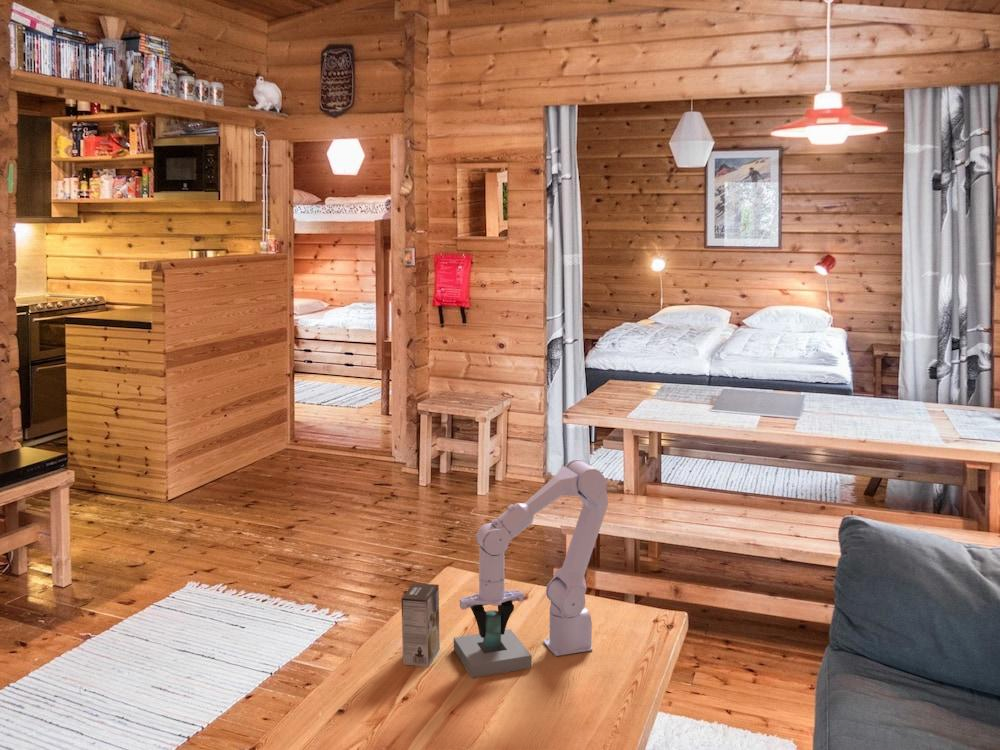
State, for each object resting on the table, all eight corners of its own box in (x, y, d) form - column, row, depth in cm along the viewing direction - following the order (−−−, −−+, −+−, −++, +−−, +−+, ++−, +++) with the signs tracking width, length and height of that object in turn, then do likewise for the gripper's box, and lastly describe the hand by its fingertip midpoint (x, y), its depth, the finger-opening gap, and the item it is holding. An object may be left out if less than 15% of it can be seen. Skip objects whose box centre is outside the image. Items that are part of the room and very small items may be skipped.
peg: (496, 637, 210) (496, 609, 209) (503, 645, 206) (503, 616, 205) (480, 640, 208) (480, 612, 207) (487, 648, 205) (487, 619, 204)
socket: (510, 641, 217) (510, 629, 217) (531, 667, 204) (531, 655, 203) (453, 649, 213) (453, 637, 212) (471, 677, 200) (471, 665, 199)
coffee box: (413, 646, 214) (412, 581, 211) (440, 649, 213) (439, 584, 210) (401, 665, 205) (400, 597, 203) (429, 667, 204) (428, 599, 201)
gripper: (466, 588, 199) (466, 646, 201) (528, 579, 204) (527, 637, 206) (456, 576, 206) (457, 633, 208) (517, 568, 210) (517, 624, 212)
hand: (491, 634), depth 207 cm, fingers closed on peg, 4 cm apart
